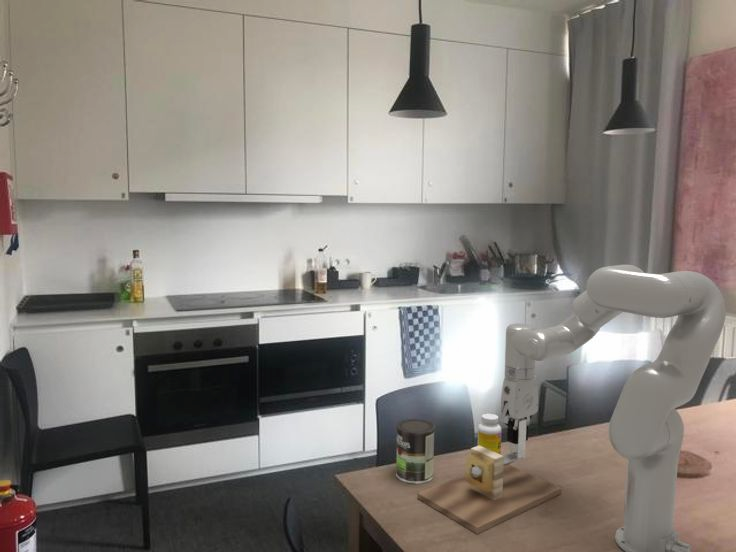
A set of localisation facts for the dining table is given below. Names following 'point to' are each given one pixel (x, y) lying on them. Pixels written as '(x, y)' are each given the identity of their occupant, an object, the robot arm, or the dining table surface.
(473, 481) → the frame
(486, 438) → the supplement bottle
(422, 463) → the coffee can
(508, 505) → the bearing stand
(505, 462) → the crank handle
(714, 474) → the dining table surface
